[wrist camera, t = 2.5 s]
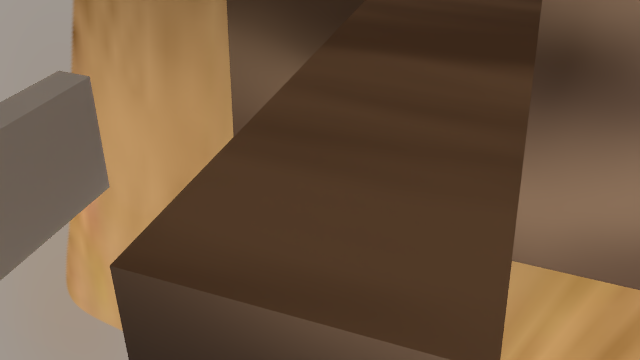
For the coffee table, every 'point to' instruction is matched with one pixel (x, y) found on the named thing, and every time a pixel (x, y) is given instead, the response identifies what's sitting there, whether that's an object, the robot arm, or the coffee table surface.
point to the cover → (395, 180)
